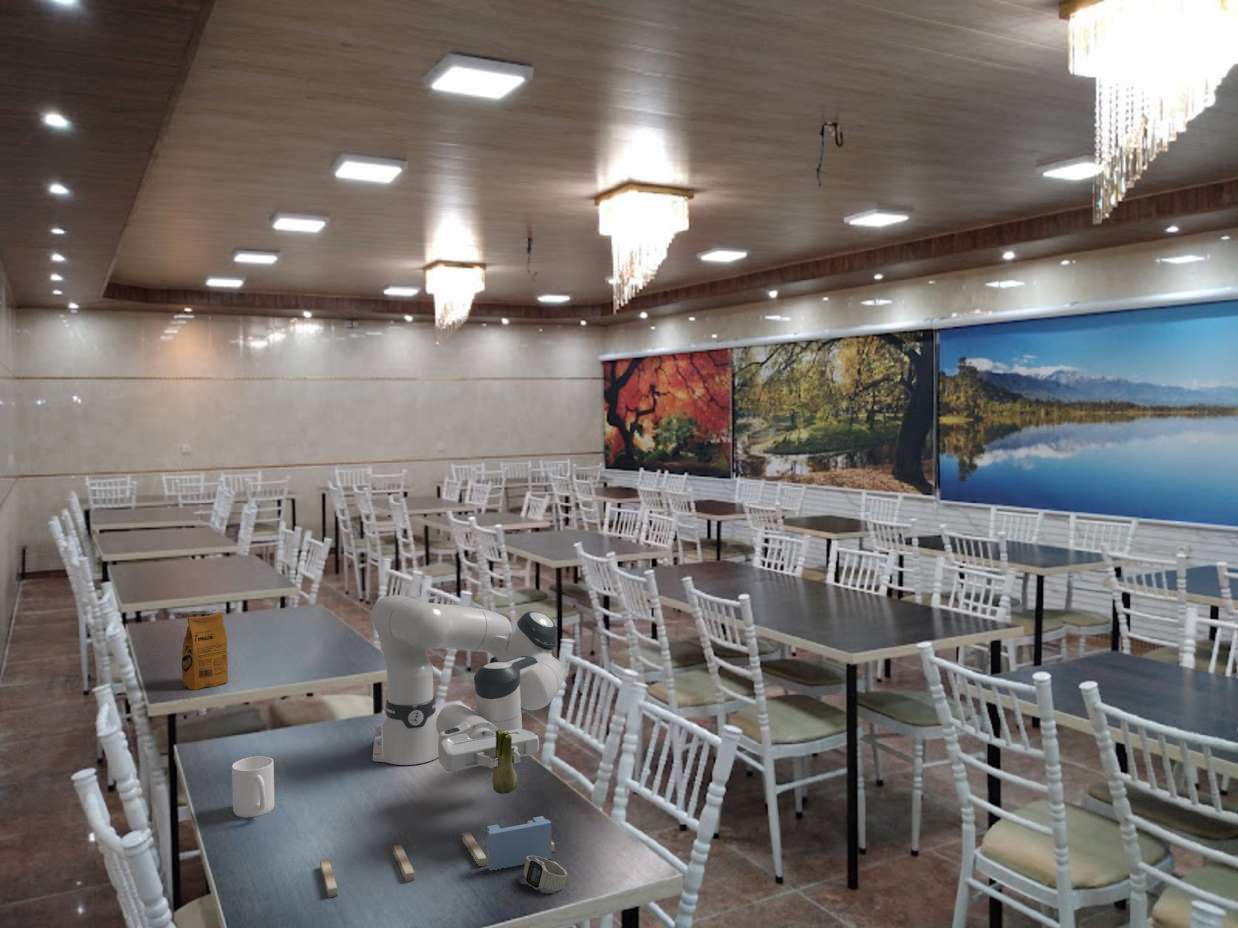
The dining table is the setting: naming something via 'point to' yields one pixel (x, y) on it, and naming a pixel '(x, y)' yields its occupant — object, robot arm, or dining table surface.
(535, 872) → the wristwatch
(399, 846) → the beige small bars
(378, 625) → the robot arm
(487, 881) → the dining table surface
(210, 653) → the coffee package
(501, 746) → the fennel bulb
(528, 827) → the blue notched panel
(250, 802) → the cup
